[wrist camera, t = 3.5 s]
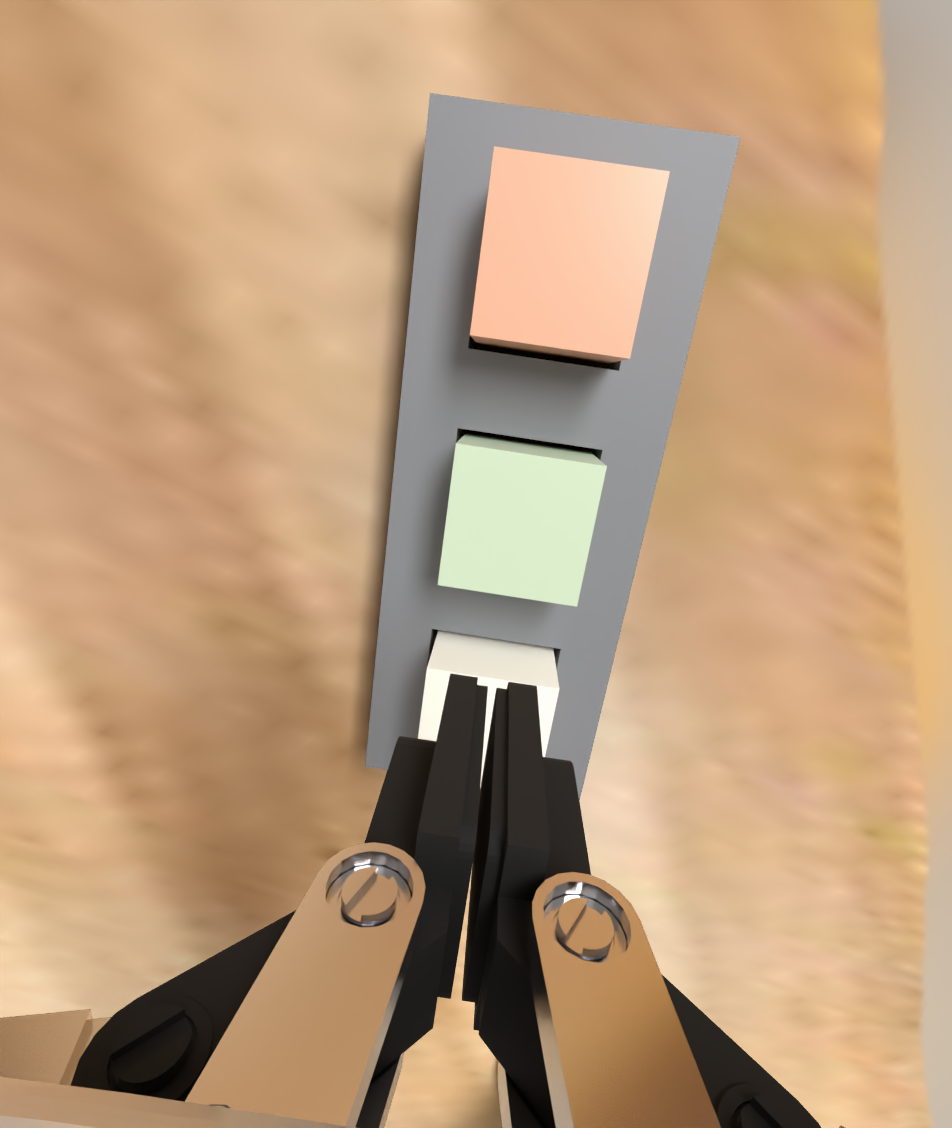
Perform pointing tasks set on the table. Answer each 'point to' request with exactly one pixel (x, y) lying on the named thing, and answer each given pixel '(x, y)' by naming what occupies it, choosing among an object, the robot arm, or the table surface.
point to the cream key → (488, 677)
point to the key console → (533, 407)
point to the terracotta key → (565, 254)
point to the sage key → (520, 519)
